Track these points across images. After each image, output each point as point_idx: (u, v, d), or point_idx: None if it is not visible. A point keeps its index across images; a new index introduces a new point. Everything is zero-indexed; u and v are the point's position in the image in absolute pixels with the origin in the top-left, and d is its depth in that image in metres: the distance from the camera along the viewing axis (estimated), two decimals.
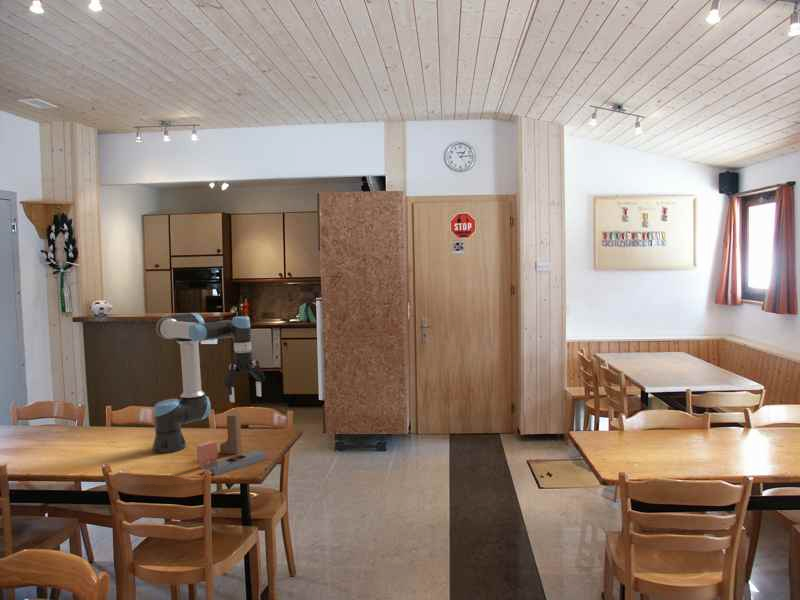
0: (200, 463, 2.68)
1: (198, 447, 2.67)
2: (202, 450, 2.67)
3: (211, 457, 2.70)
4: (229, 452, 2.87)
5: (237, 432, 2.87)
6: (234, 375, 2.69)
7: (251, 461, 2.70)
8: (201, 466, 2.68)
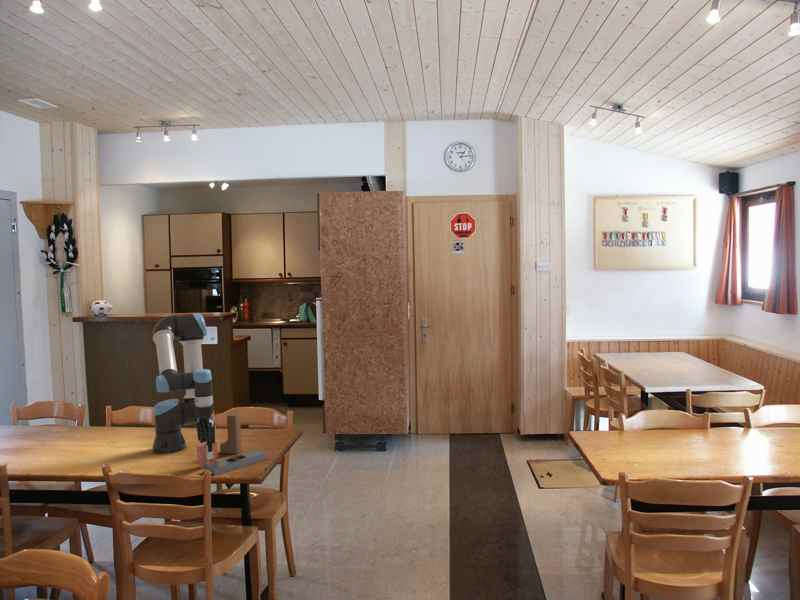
0: (200, 463, 2.68)
1: (198, 447, 2.67)
2: (202, 450, 2.67)
3: None
4: (229, 452, 2.87)
5: (237, 432, 2.87)
6: None
7: (251, 461, 2.70)
8: (201, 466, 2.68)
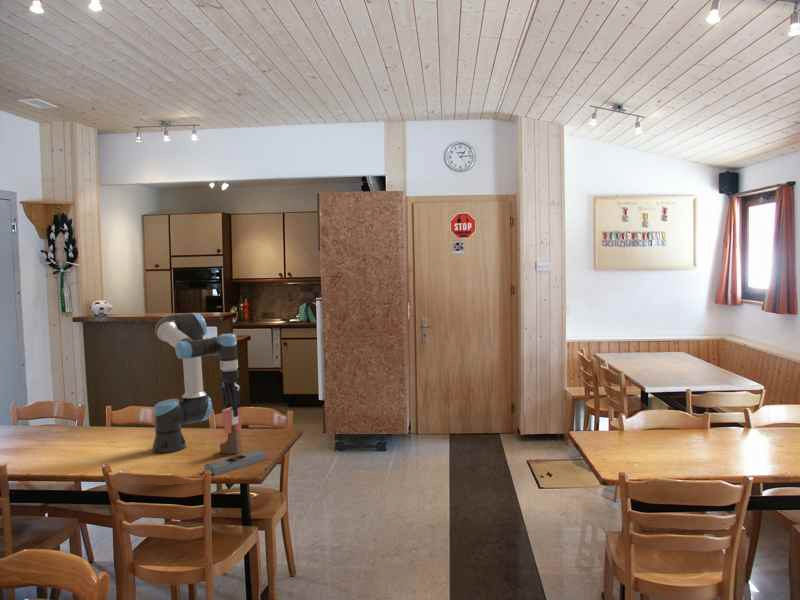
0: (225, 428, 2.66)
1: (223, 412, 2.65)
2: (227, 415, 2.65)
3: None
4: (229, 452, 2.87)
5: (237, 432, 2.87)
6: None
7: (251, 461, 2.70)
8: (226, 431, 2.65)
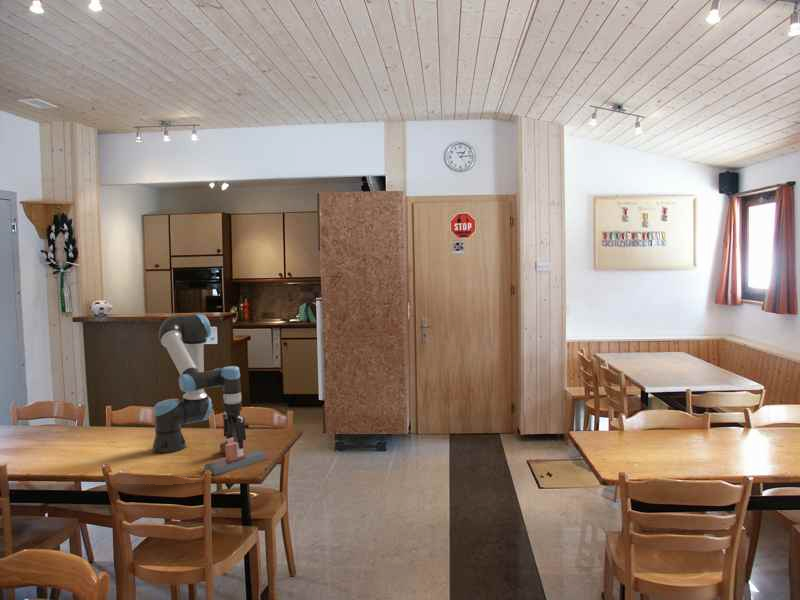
0: None
1: (227, 446, 2.66)
2: (231, 450, 2.66)
3: (239, 456, 2.69)
4: None
5: None
6: None
7: (251, 461, 2.70)
8: None
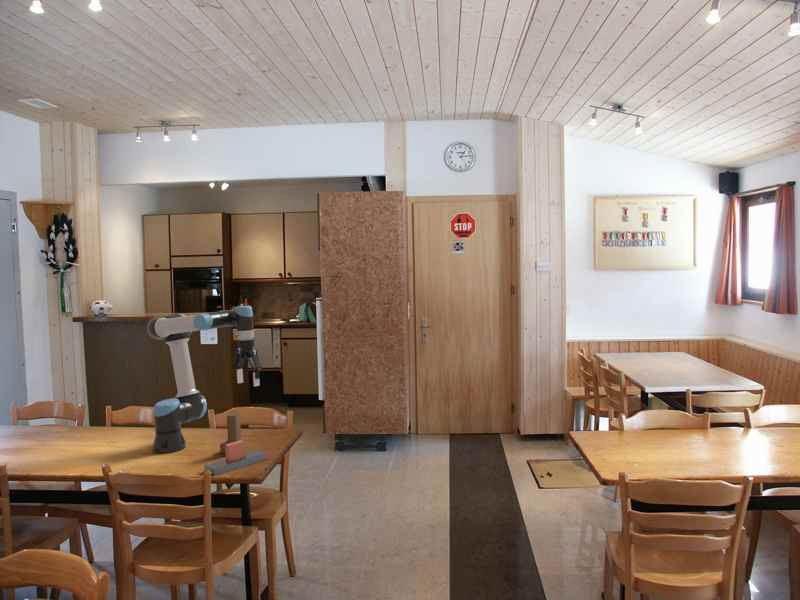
0: None
1: (227, 446, 2.66)
2: (231, 450, 2.66)
3: (239, 456, 2.69)
4: None
5: (237, 432, 2.87)
6: None
7: (251, 461, 2.70)
8: None
